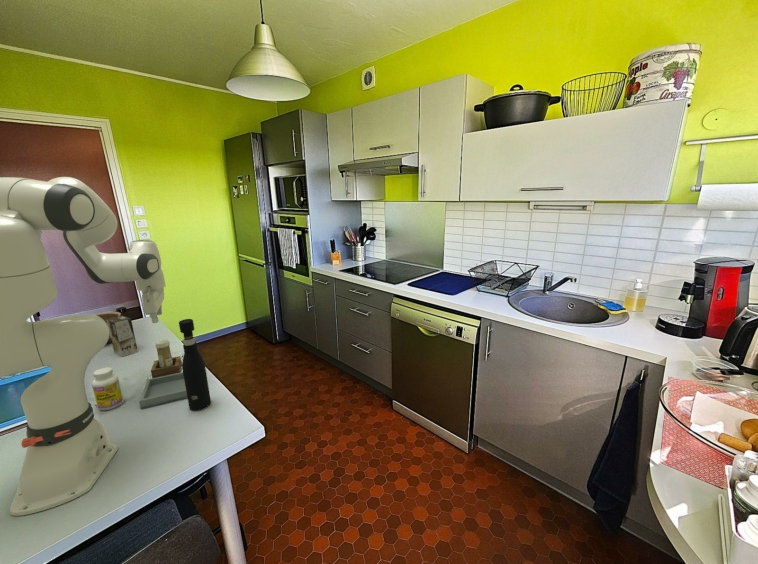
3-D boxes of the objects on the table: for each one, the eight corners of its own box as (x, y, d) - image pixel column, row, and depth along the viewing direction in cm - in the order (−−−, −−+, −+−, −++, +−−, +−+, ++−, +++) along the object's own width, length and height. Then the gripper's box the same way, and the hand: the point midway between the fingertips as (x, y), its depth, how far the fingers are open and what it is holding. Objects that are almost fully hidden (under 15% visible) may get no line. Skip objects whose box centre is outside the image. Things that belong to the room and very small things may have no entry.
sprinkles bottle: (174, 373, 128) (168, 341, 125) (161, 376, 126) (154, 344, 122) (174, 368, 132) (168, 337, 129) (161, 371, 129) (154, 340, 126)
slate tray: (192, 396, 112) (191, 389, 112) (140, 409, 106) (139, 401, 105) (195, 376, 125) (194, 369, 125) (148, 386, 119) (147, 379, 118)
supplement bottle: (95, 413, 104) (85, 378, 101) (101, 402, 110) (93, 368, 107) (120, 407, 107) (112, 373, 104) (125, 397, 113) (118, 364, 109)
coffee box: (138, 351, 147) (131, 318, 143) (122, 357, 142) (114, 322, 138) (130, 346, 152) (122, 314, 148) (113, 352, 147) (105, 319, 143)
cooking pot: (74, 340, 160) (67, 317, 157) (121, 329, 174) (116, 307, 171) (82, 355, 144) (75, 330, 141) (133, 341, 158) (128, 318, 155)
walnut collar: (179, 374, 127) (178, 365, 126) (152, 380, 123) (150, 371, 122) (181, 364, 135) (180, 356, 134) (156, 369, 131) (154, 360, 130)
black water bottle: (207, 397, 112) (194, 315, 105) (213, 405, 108) (200, 320, 100) (186, 405, 108) (171, 321, 100) (192, 413, 103) (176, 326, 96)
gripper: (156, 289, 112) (163, 326, 116) (164, 276, 130) (170, 309, 133) (134, 291, 109) (142, 329, 113) (145, 278, 127) (152, 311, 131)
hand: (157, 318), depth 123 cm, fingers open, 8 cm apart
